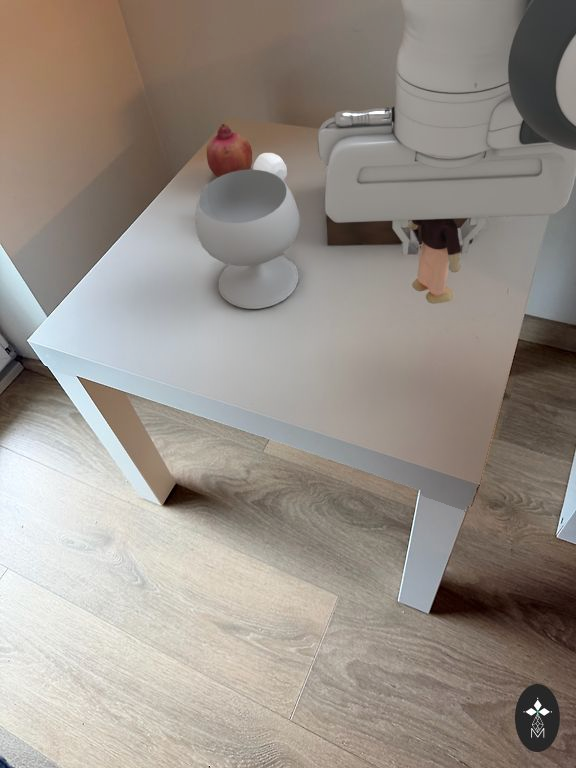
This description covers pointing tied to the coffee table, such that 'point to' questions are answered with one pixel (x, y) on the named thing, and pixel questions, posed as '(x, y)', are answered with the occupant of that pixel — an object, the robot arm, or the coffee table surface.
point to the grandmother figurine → (437, 257)
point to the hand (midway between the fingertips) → (433, 250)
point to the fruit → (228, 152)
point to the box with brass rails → (368, 232)
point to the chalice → (250, 236)
